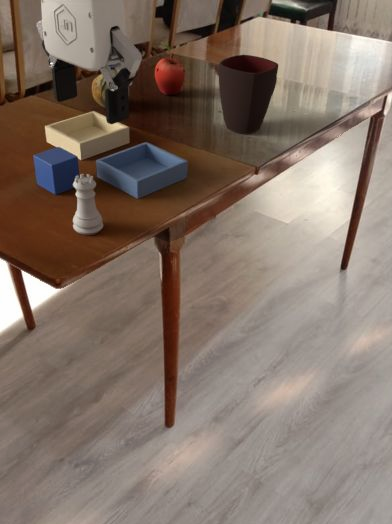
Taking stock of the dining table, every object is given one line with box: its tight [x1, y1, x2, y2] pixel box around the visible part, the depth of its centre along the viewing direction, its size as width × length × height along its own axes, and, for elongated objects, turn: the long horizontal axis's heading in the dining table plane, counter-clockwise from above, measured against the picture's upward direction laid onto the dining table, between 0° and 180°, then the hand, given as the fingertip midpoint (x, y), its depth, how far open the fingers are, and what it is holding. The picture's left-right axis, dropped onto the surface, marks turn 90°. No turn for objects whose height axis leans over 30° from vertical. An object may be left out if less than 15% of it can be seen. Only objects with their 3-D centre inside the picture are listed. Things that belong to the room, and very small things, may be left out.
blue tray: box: [95, 141, 189, 200], centre depth 104 cm, size 11×10×3 cm
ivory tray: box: [44, 110, 131, 161], centre depth 114 cm, size 11×10×3 cm
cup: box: [218, 54, 279, 136], centre depth 120 cm, size 10×14×12 cm
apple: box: [154, 41, 186, 96], centre depth 132 cm, size 8×7×10 cm
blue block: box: [32, 147, 80, 196], centre depth 101 cm, size 5×5×5 cm
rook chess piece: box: [72, 173, 104, 236], centre depth 90 cm, size 4×4×8 cm
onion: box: [91, 68, 130, 109], centre depth 126 cm, size 8×8×8 cm
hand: (91, 109), depth 78 cm, fingers open, 9 cm apart
